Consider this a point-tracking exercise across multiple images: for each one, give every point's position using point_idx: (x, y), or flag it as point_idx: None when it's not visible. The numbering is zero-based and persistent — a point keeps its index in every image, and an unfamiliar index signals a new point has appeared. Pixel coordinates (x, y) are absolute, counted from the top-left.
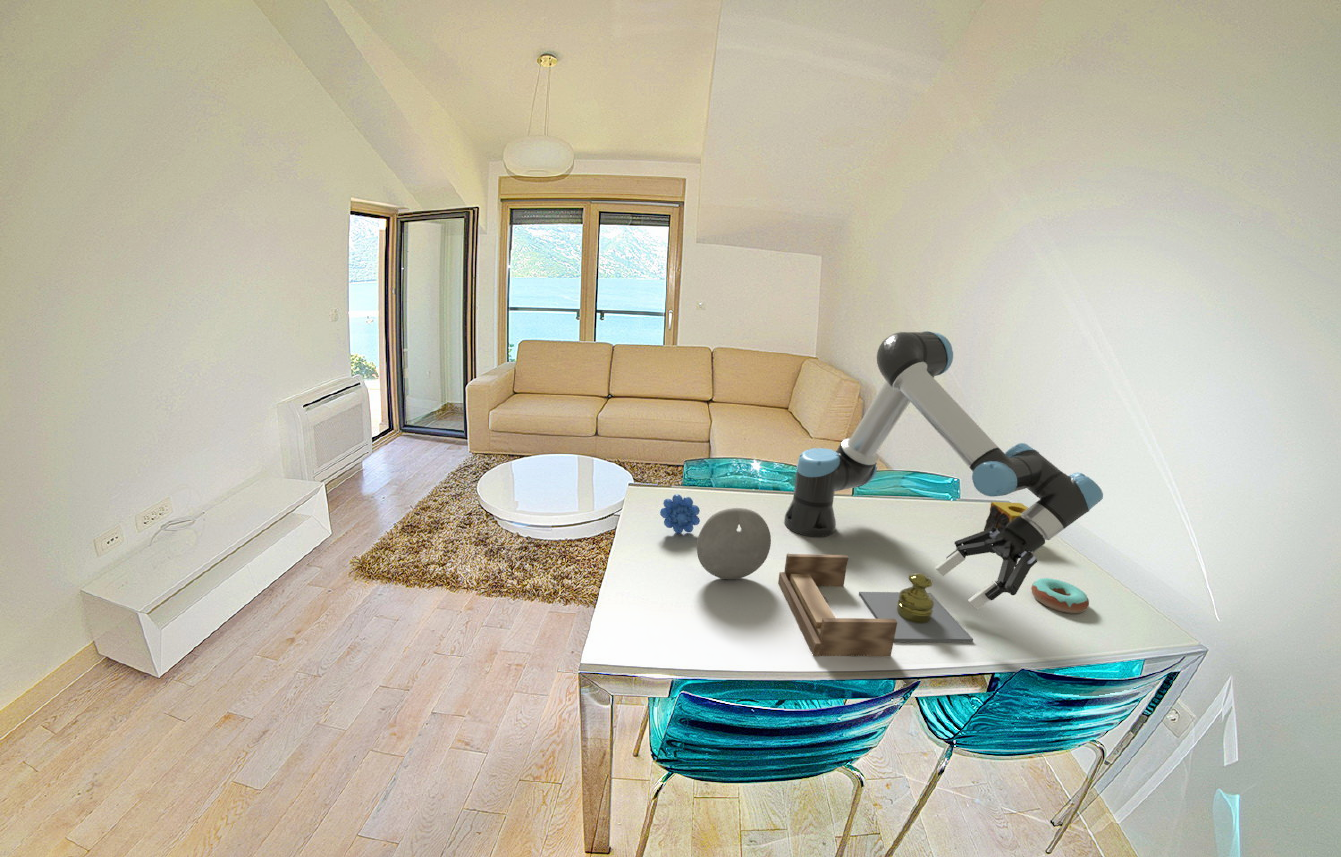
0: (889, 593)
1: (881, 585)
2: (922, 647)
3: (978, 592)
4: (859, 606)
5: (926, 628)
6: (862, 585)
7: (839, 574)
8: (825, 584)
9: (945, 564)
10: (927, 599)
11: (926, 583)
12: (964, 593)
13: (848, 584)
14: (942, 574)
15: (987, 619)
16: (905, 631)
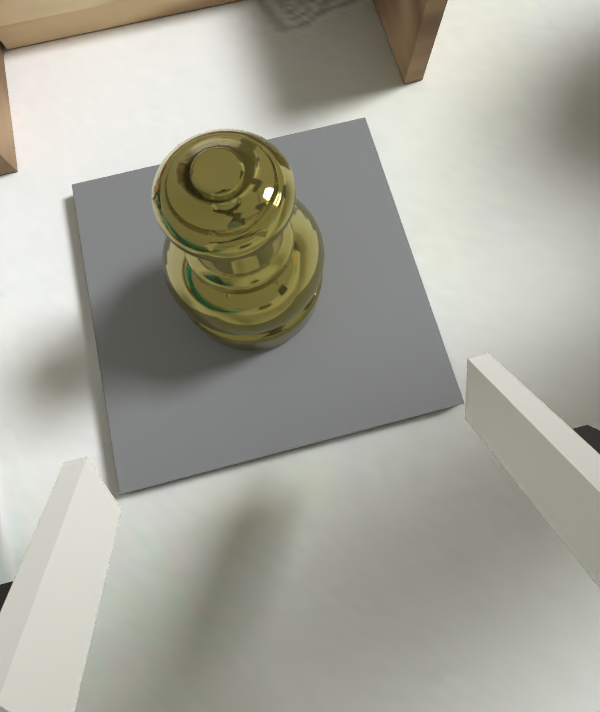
0: (390, 224)
1: (469, 218)
2: (62, 287)
3: (55, 529)
4: (279, 121)
5: (159, 316)
6: (440, 148)
7: (409, 12)
8: (384, 20)
9: (504, 410)
10: (198, 280)
11: (162, 206)
12: (547, 591)
13: (428, 102)
14: (467, 411)
15: (328, 632)
16: (125, 235)
